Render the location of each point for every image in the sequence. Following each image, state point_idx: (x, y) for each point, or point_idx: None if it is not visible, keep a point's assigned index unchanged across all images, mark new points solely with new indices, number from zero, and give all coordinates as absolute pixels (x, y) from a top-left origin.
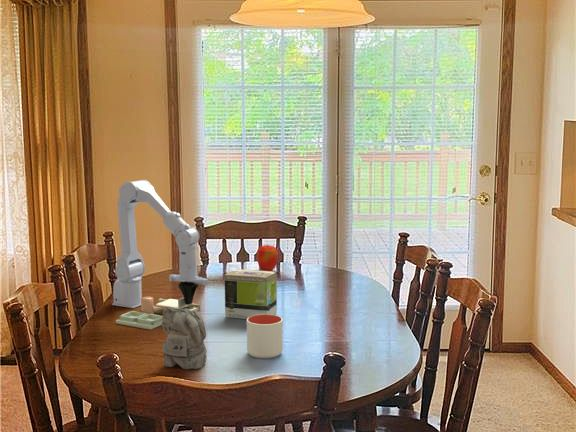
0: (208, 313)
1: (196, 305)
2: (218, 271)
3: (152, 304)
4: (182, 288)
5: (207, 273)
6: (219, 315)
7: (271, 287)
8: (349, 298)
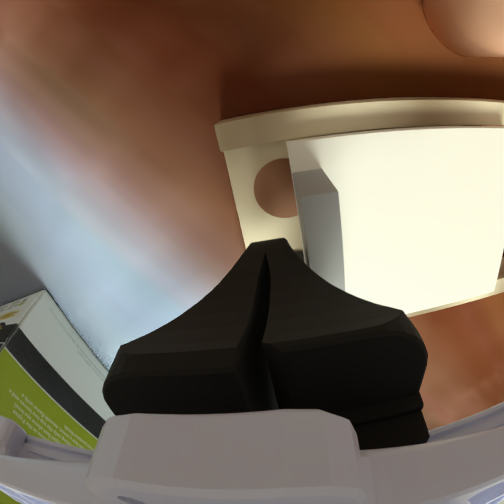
0: (161, 292)
1: None
2: None
3: (477, 2)
4: (307, 316)
5: None
6: (91, 297)
7: None
8: None
